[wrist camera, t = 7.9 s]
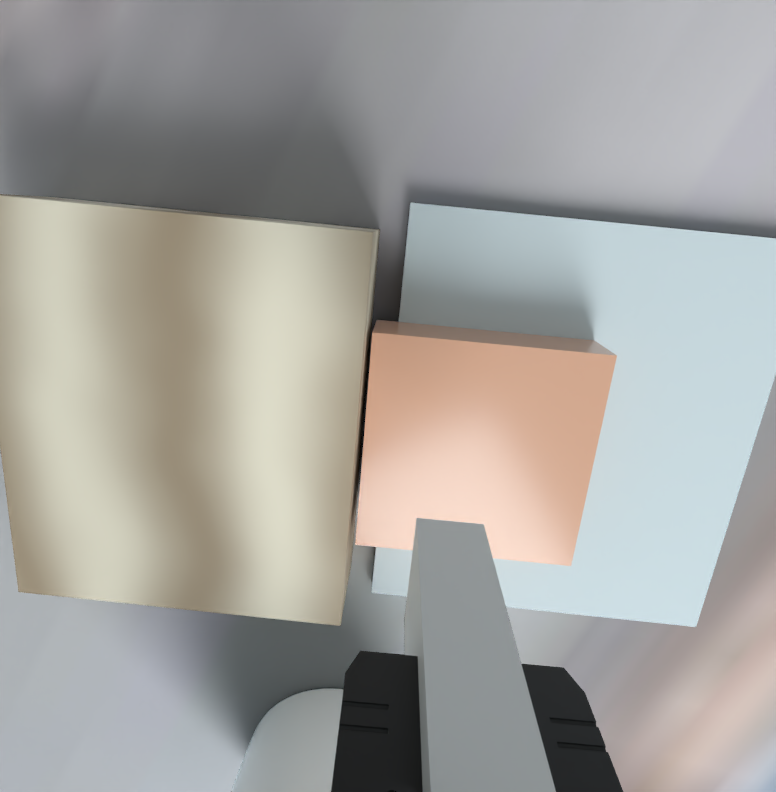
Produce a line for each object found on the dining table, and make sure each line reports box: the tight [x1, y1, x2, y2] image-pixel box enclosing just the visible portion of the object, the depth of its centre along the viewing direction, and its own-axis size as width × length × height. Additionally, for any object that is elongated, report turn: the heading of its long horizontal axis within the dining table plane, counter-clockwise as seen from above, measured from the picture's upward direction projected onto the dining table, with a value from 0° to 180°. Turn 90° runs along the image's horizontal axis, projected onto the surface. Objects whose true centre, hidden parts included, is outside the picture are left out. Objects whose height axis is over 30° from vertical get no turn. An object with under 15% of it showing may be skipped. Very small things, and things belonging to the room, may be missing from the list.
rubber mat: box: [371, 203, 776, 627], centre depth 22 cm, size 14×16×1 cm
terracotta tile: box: [355, 320, 617, 566], centre depth 21 cm, size 8×8×2 cm
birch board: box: [0, 194, 380, 626], centre depth 21 cm, size 12×14×4 cm
